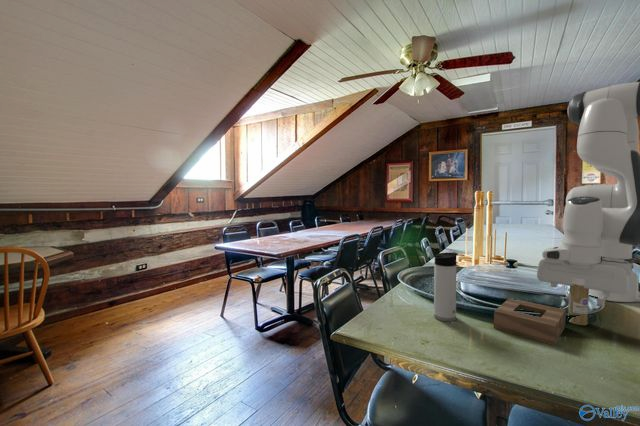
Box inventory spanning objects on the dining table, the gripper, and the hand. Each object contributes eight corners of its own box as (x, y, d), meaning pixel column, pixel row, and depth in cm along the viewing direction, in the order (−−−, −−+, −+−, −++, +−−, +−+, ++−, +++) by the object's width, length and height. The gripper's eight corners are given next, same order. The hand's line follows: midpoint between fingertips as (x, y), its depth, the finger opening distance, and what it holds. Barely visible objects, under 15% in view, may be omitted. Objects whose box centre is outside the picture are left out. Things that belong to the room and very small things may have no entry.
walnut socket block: (509, 313, 99) (509, 297, 99) (565, 327, 89) (565, 309, 89) (493, 328, 90) (494, 311, 89) (554, 345, 80) (555, 326, 79)
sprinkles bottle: (580, 326, 89) (582, 279, 88) (563, 320, 93) (565, 275, 92) (591, 324, 90) (594, 278, 89) (575, 318, 95) (577, 273, 94)
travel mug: (460, 321, 94) (461, 255, 93) (438, 321, 95) (438, 255, 93) (452, 313, 101) (452, 250, 99) (431, 313, 101) (431, 251, 99)
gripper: (632, 257, 85) (629, 308, 86) (541, 248, 100) (539, 291, 101) (631, 262, 81) (628, 315, 82) (536, 251, 95) (534, 296, 96)
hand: (578, 301), depth 91 cm, fingers open, 8 cm apart
